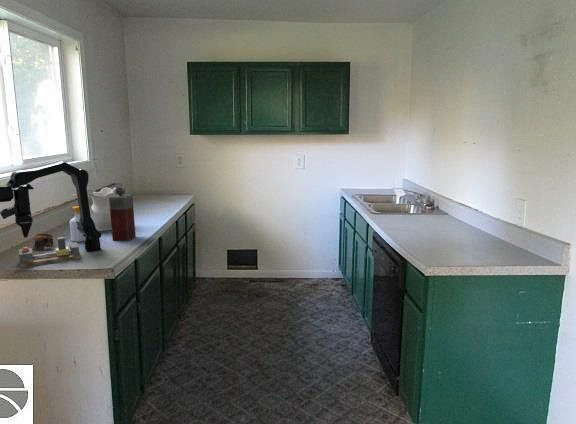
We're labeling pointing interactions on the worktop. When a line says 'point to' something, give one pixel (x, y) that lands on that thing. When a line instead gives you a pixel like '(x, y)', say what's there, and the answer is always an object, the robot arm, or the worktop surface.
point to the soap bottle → (75, 226)
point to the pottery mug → (42, 241)
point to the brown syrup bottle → (122, 216)
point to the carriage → (62, 247)
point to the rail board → (48, 256)
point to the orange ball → (25, 249)
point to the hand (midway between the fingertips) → (25, 235)
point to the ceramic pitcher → (101, 208)
